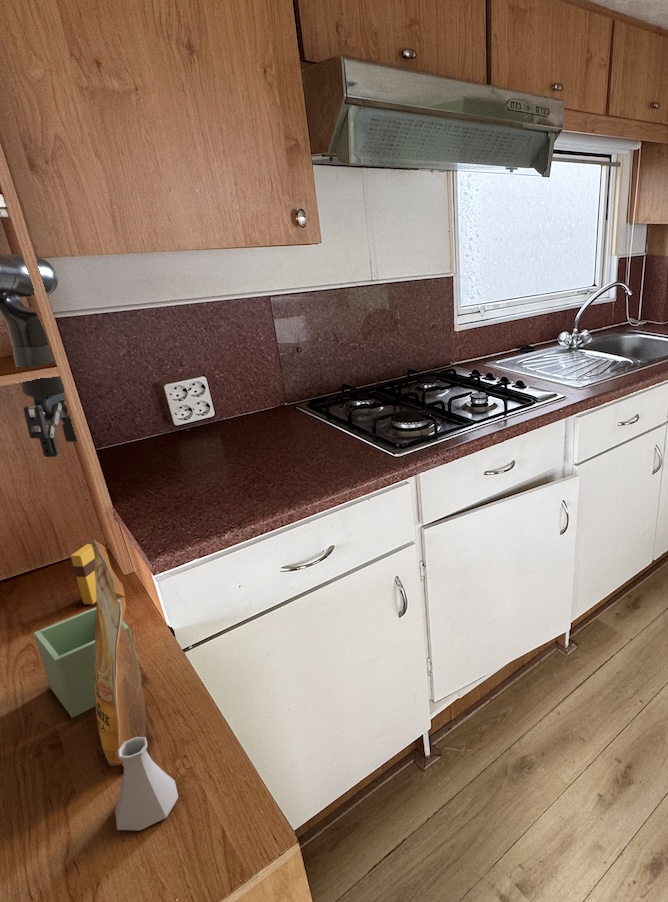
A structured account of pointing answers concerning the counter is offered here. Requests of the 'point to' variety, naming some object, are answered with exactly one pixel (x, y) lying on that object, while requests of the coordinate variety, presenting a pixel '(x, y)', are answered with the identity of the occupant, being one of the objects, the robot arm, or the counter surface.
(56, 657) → the trash can
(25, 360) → the robot arm
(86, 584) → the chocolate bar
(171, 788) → the flask
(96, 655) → the pancake mix bag
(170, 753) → the counter surface
